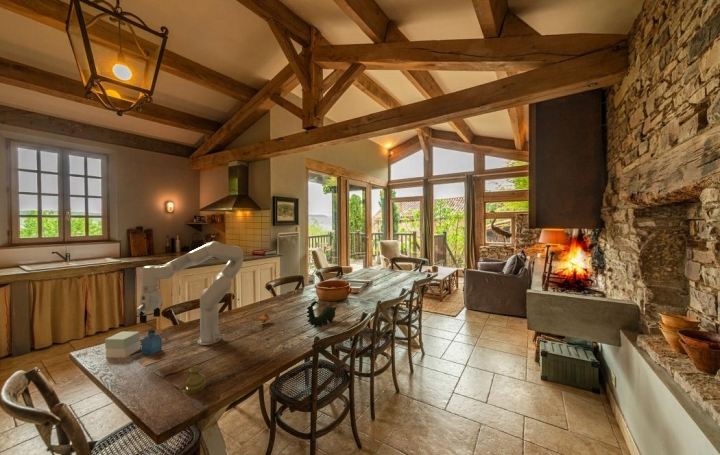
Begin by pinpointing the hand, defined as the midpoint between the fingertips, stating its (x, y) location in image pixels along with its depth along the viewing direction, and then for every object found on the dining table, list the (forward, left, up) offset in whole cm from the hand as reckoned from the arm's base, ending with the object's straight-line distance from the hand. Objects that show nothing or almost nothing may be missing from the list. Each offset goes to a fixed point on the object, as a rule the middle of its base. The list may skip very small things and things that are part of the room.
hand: (150, 319), depth 151 cm
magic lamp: (-46, -41, -18) cm, 65 cm away
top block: (+14, +2, -13) cm, 19 cm away
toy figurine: (-88, -42, -18) cm, 100 cm away
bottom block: (+13, +2, -18) cm, 23 cm away
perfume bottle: (0, 0, -18) cm, 18 cm away
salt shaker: (-44, +33, -18) cm, 58 cm away
